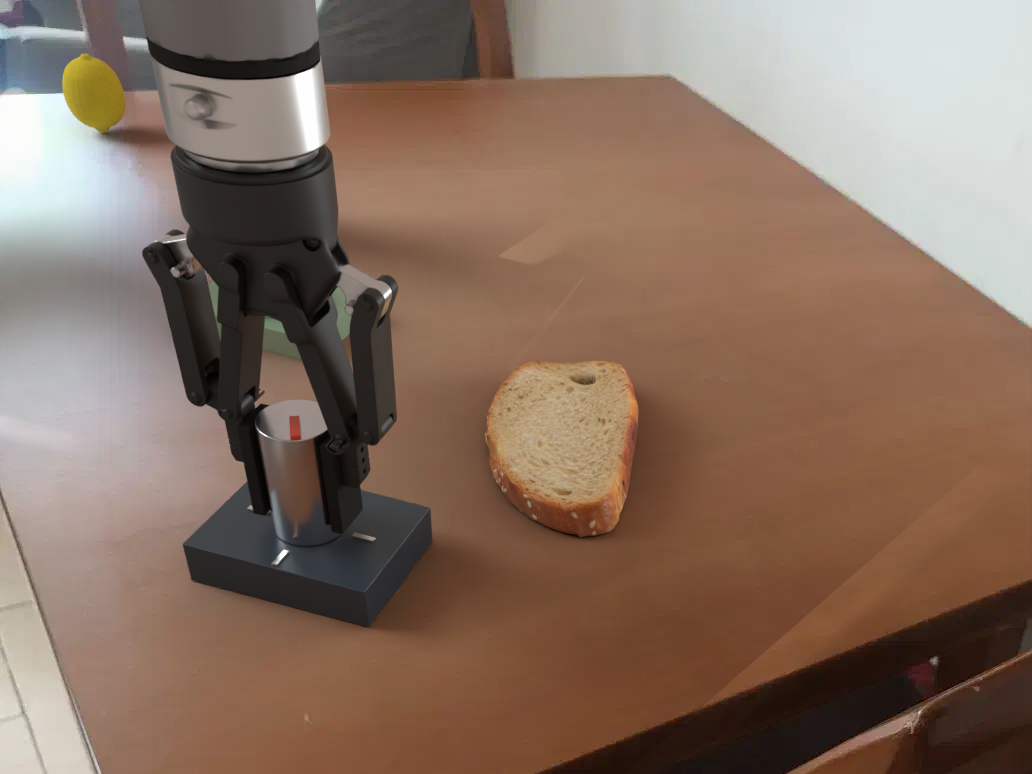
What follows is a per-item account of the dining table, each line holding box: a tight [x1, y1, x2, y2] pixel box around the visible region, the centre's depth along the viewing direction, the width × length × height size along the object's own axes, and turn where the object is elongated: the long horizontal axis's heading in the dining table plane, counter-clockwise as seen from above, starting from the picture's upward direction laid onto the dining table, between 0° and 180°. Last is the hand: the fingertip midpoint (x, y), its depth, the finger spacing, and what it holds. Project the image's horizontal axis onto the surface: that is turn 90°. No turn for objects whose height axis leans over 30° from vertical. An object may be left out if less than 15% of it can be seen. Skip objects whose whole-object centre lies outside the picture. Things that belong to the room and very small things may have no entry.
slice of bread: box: [484, 359, 639, 538], centre depth 86 cm, size 18×18×4 cm
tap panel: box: [182, 481, 434, 628], centre depth 72 cm, size 12×9×3 cm
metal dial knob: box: [255, 399, 341, 546], centre depth 69 cm, size 4×4×8 cm
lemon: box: [61, 53, 126, 134], centre depth 116 cm, size 6×6×8 cm
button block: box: [208, 280, 352, 360], centre depth 93 cm, size 12×9×4 cm
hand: (308, 510), depth 71 cm, fingers closed on metal dial knob, 4 cm apart
